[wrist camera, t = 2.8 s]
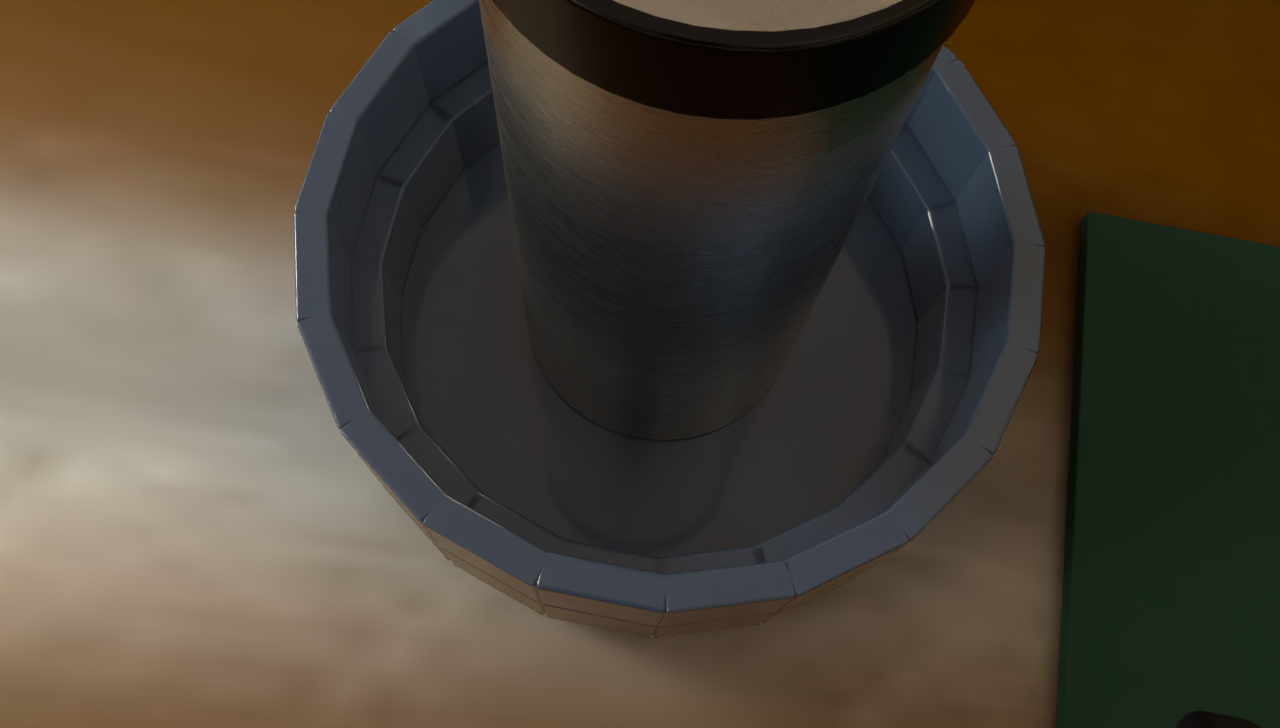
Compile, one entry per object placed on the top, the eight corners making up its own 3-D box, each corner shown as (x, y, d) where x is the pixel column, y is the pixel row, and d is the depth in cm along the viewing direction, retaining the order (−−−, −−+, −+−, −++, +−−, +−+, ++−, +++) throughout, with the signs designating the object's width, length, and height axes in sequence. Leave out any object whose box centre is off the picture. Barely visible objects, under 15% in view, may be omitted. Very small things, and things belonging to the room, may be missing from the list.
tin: (776, 470, 22) (1018, 102, 9) (494, 415, 22) (368, -18, 9) (814, 218, 24) (1053, -359, 11) (554, 169, 24) (515, -452, 11)
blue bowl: (932, 697, 21) (1020, 683, 17) (269, 565, 21) (188, 519, 17) (984, 121, 25) (1062, -5, 21) (436, 21, 26) (406, -124, 21)
